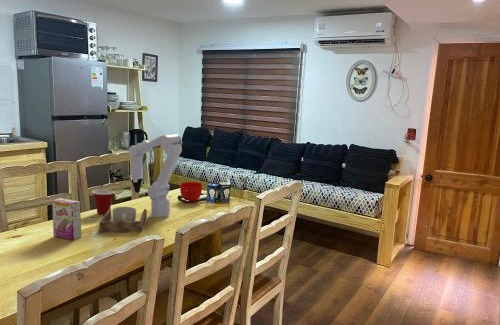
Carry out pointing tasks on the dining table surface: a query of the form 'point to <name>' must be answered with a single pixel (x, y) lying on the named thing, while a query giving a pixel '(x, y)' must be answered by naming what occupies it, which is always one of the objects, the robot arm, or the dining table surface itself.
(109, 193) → the plastic cup
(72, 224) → the candy bar box
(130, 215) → the teacup
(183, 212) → the dining table surface
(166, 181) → the robot arm
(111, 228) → the cubby
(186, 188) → the ceramic cup
